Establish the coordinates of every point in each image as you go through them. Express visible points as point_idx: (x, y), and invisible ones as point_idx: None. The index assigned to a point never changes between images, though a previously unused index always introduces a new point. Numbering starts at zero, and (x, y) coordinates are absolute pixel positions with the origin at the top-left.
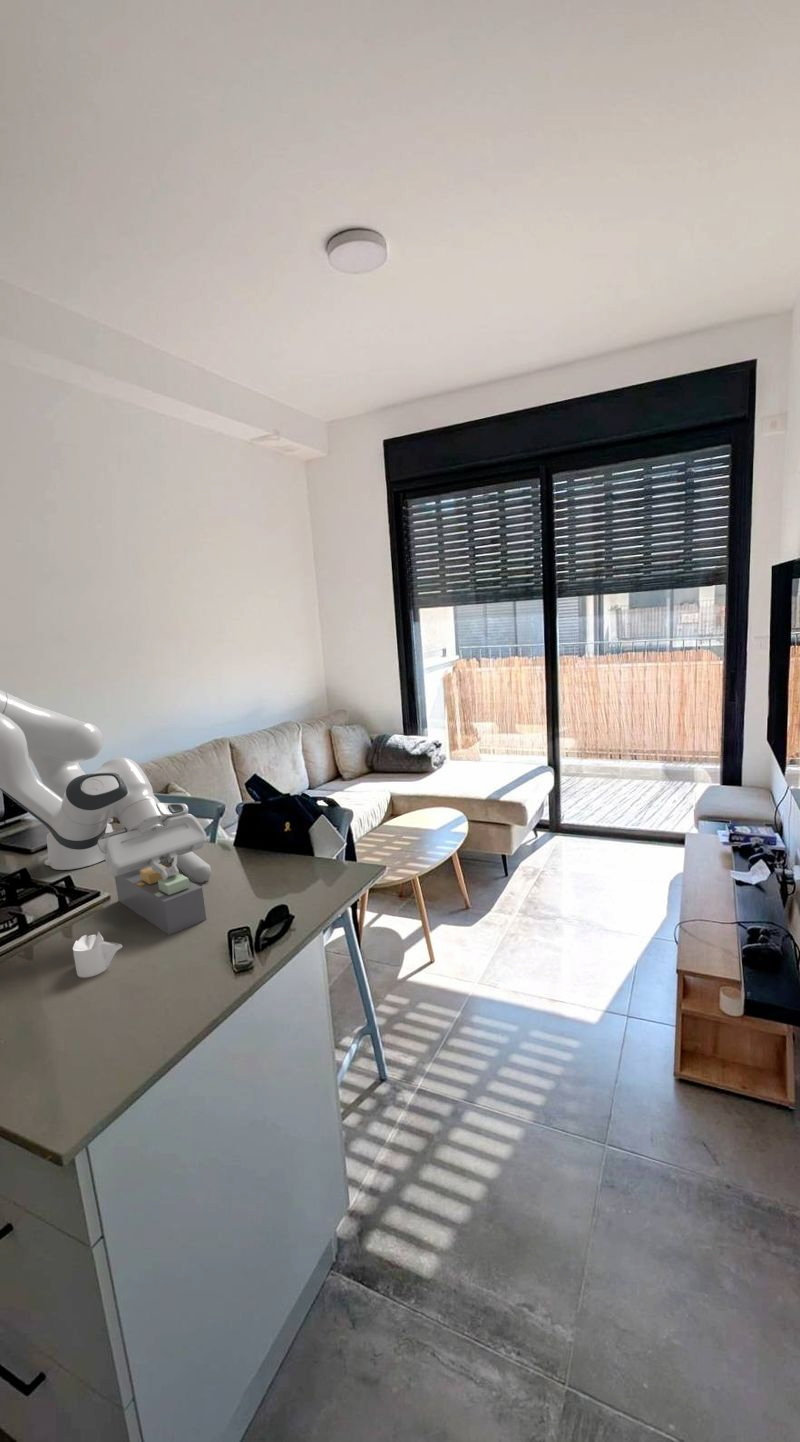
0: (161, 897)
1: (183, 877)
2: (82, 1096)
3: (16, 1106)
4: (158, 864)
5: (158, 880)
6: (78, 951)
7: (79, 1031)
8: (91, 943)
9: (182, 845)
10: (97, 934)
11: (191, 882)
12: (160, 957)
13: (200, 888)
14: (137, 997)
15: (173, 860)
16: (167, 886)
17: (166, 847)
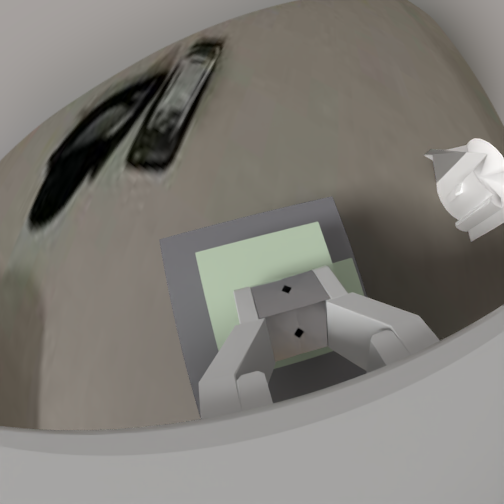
0: (340, 249)
1: (217, 285)
2: (391, 5)
3: (438, 26)
4: (382, 315)
5: None
6: (496, 150)
7: (425, 61)
8: (487, 186)
9: (102, 441)
10: (486, 156)
11: (181, 336)
12: (337, 146)
13: (167, 238)
14: (369, 67)
15: (247, 360)
16: (317, 225)
17: (303, 447)
